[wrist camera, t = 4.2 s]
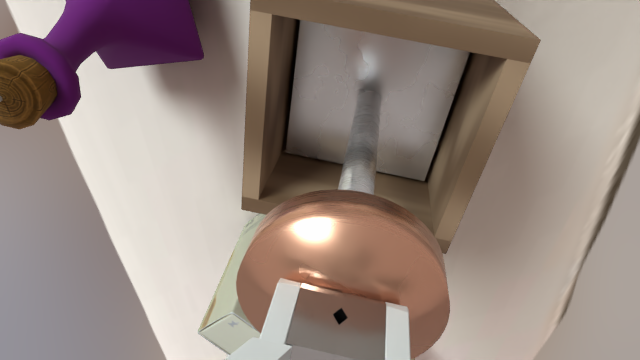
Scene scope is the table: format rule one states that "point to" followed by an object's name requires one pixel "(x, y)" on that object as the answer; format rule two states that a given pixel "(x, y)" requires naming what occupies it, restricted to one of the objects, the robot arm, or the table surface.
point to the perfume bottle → (89, 52)
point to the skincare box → (230, 302)
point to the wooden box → (404, 23)
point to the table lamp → (360, 177)
